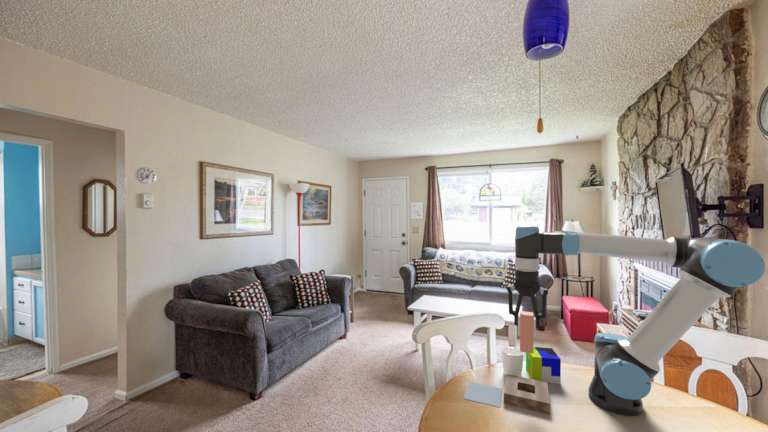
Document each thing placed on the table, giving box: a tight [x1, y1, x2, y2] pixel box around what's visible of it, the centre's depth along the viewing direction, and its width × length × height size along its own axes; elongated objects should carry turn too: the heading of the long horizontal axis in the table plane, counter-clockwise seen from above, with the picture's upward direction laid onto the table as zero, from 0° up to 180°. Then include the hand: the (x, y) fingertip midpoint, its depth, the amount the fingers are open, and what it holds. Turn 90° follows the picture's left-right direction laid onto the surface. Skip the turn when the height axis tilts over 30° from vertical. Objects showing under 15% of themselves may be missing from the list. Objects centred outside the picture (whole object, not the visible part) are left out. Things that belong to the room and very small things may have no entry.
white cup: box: [501, 346, 524, 377], centre depth 125 cm, size 8×8×10 cm
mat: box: [463, 381, 503, 408], centre depth 111 cm, size 12×12×1 cm
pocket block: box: [503, 374, 551, 415], centre depth 109 cm, size 14×14×4 cm
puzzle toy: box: [525, 346, 562, 385], centre depth 124 cm, size 10×10×10 cm
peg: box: [519, 310, 535, 354], centre depth 109 cm, size 4×4×13 cm
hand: (526, 335), depth 109 cm, fingers closed on peg, 4 cm apart
